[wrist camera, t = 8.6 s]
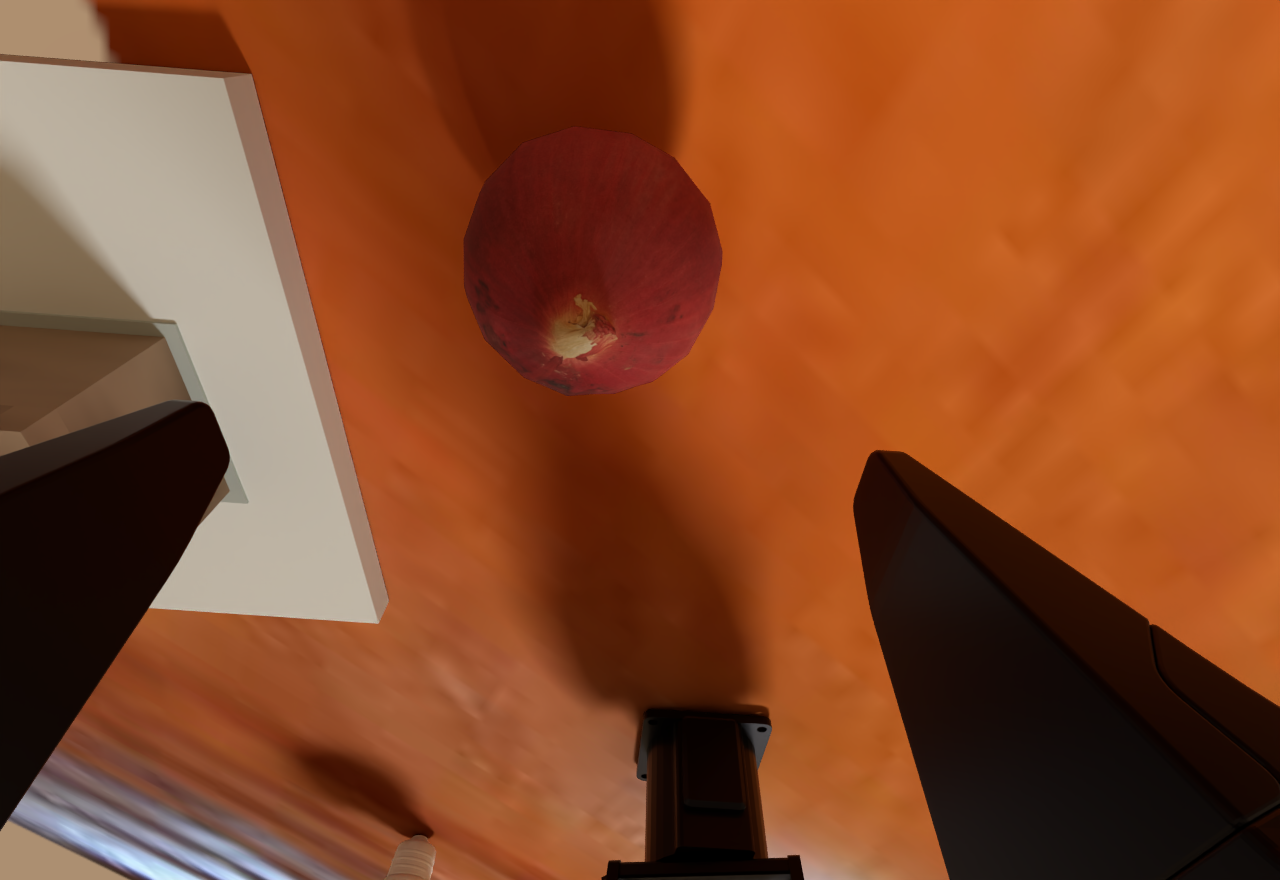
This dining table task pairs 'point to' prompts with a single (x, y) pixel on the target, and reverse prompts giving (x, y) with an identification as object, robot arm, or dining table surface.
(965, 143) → the dining table surface
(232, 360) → the build plate
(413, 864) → the lightbulb
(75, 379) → the cup brick
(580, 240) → the onion
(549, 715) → the dining table surface
